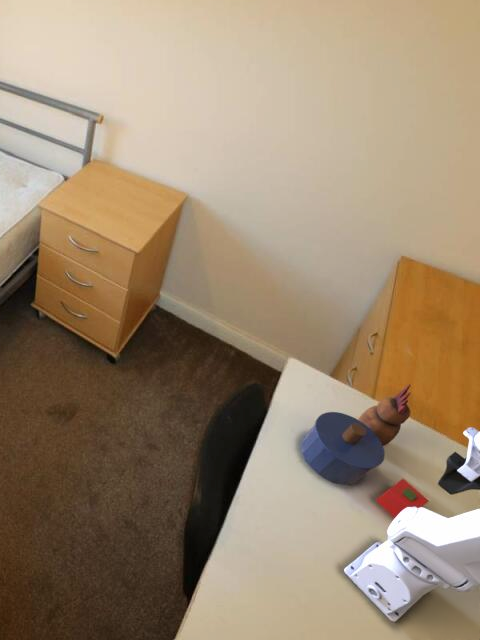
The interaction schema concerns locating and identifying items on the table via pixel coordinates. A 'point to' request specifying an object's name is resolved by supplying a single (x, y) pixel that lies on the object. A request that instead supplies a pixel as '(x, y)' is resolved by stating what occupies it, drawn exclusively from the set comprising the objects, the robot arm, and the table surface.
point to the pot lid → (349, 440)
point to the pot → (328, 462)
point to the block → (401, 498)
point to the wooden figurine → (387, 416)
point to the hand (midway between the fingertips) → (457, 478)
